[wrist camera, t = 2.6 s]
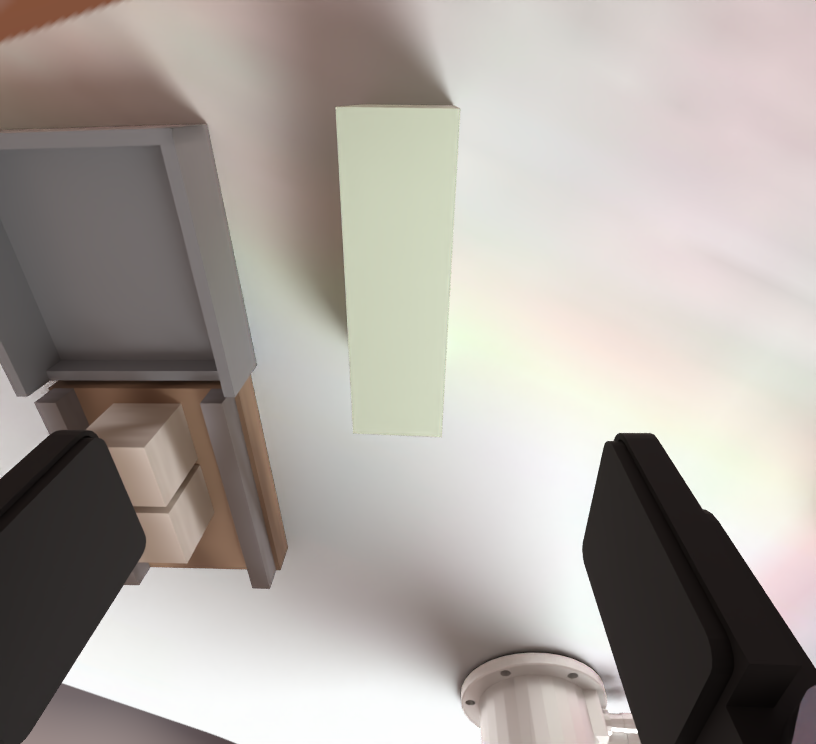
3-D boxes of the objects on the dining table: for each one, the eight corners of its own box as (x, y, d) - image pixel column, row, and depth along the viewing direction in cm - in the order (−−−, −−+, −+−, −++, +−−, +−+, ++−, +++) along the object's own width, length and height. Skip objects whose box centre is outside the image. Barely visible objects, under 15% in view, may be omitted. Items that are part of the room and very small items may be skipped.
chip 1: (181, 403, 28) (144, 447, 24) (198, 458, 30) (166, 506, 26) (113, 403, 28) (67, 446, 24) (134, 457, 30) (94, 505, 26)
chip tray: (206, 123, 22) (170, 127, 19) (256, 365, 28) (235, 397, 25) (-41, 131, 23) (-114, 136, 20) (60, 365, 29) (17, 396, 26)
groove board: (249, 370, 29) (227, 403, 26) (287, 547, 36) (274, 588, 33) (71, 371, 29) (29, 402, 26) (144, 544, 37) (118, 584, 34)
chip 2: (199, 464, 30) (168, 513, 26) (214, 512, 32) (187, 563, 28) (137, 464, 30) (97, 512, 27) (155, 511, 32) (121, 561, 29)
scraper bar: (453, 105, 22) (460, 108, 15) (440, 363, 28) (441, 437, 22) (363, 104, 22) (335, 106, 16) (371, 360, 28) (353, 433, 22)
